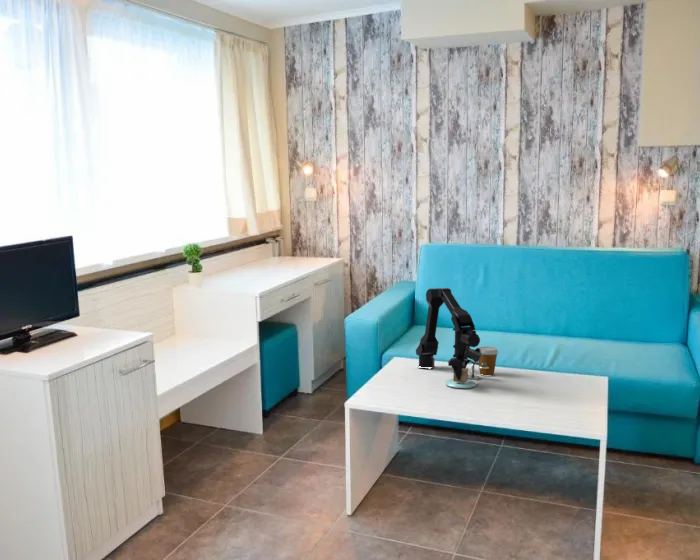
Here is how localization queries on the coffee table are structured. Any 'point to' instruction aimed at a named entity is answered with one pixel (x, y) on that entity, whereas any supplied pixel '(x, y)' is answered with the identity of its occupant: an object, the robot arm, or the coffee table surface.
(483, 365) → the balance
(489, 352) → the disposable coffee cup
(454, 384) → the teal dish
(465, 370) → the tan block
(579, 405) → the coffee table surface
